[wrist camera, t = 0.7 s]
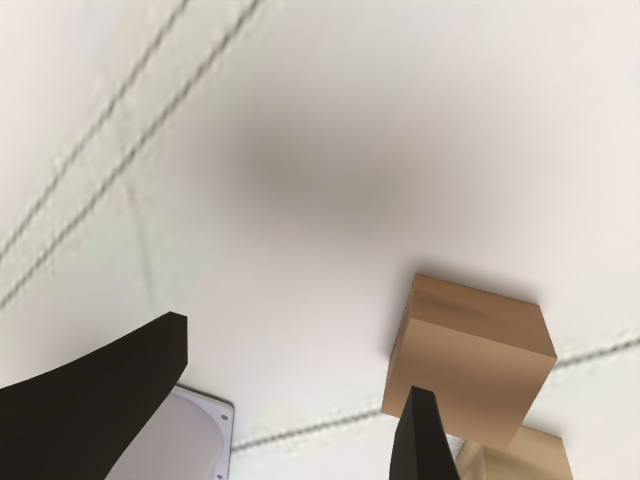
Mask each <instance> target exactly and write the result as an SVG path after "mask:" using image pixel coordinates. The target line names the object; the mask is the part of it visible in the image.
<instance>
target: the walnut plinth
mask: <svg viewBox="0 0 640 480" xmlns="http://www.w3.org/2000/svg"><path fill="white" fill-rule="evenodd" d="M556 361H557V356H556V353H555V350H554V347H553V344H552V341H551V339H550V336H549V333H548V330H547V327H546V324H545V321H544V318H543V316H542V313H541V310H540V307H539V306H538V305H534V304H530V303H527V302H523V301H519V300H515V299H511V298H508V297H504V296H500V295H496V294H492V293H489V292H485V291H481V290H477V289H473V288H470V287H466V286H462V285H458V284H454V283H451V282H447V281H443V280H439V279H435V278H432V277H428V276H424V275H420V274H416V275H415V278H414V282H413V285H412V288H411V292H410V295H409V298H408V301H407V305H406V308H405V311H404V314H403V318H402V321H401V324H400V328H399V331H398V334H397V337H396V341H395V344H394V347H393V350H392V354H391V357H390V360H389V366H388V372H387V378H386V384H385V390H384V396H383V402H382V408H381V412H382V413H385V414H388V415H391V416H394V417H398V418H401V415H402V412H403V409H404V406H405V403H406V400H407V398H408V395H409V392H410V389H411V386H412V385H413V386H416V387H419V388H423V389H426V390H429V391H432V392H433V393H434V394H435V396H436V401H437V405H438V410H439V414H440V418H441V421H442V425H443V428H444V432H445V433H447V434H451V435H454V436H457V437H460V438H463V439H466V440H469V441H472V442H476V443H479V444H482V445H485V446H488V447H491V448H494V449H497V450H500V451H504V452H505V451H506V449H507V448H508V446H509V444H510V442H511V441H512V439H513V437H514V435H515V433H516V432H517V430H518V428H519V426H520V425H521V423H522V421H523V419H524V417H525V416H526V414H527V412H528V410H529V409H530V407H531V405H532V403H533V402H534V400H535V398H536V396H537V394H538V393H539V391H540V389H541V387H542V386H543V384H544V382H545V380H546V379H547V377H548V375H549V373H550V371H551V370H552V368H553V366H554V364H555V363H556Z"/></svg>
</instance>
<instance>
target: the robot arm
mask: <svg viewBox="0 0 640 480" xmlns="http://www.w3.org/2000/svg"><path fill="white" fill-rule="evenodd" d="M187 364H188V345H187V316H184V315H180V314H177V313H174V312H171V311H170V312H168V313H166V314H164V315H162V316H160V317H158V318H157V319H155V320H153V321H151V322H149V323H147V324H146V325H144V326H142V327H140V328H138V329H136V330H135V331H133V332H131V333H129V334H127V335H125V336H123V337H121V338H119V339H117V340H116V341H114V342H112V343H110V344H108V345H106V346H104V347H102V348H100V349H98V350H95V351H93V352H91V353H89V354H87V355H85V356H83V357H81V358H79V359H77V360H74V361H72V362H70V363H68V364H66V365H63V366H61V367H58V368H56V369H54V370H51V371H49V372H46V373H44V374H41V375H38V376H36V377H33V378H31V379H28V380H25V381H22V382H19V383H16V384H13V385H10V386H7V387H4V388H1V389H0V480H227V479H228V468H229V457H230V446H231V435H232V424H233V413H234V410H233V408H232V406H230V405H229V404H226V403H223V402H221V401H218V400H215V399H212V398H209V397H206V396H204V395H201V394H198V393H195V392H192V391H189V390H186V389H184V388H181V387H178V386H175V384H176V383H177V381H178V380H179V378H180V376H181V374H182V373H183V371H184V369H185V368H186V366H187ZM389 480H461V479H460V476H459V474H458V471H457V468H456V465H455V462H454V459H453V457H452V454H451V451H450V448H449V445H448V442H447V438H446V435H445V432H444V428H443V425H442V421H441V418H440V414H439V410H438V405H437V401H436V396H435V394H434V393H433V392H432V391H429V390H426V389H423V388H419V387H416V386H413V385H412V386H411V389H410V392H409V395H408V398H407V400H406V403H405V406H404V409H403V412H402V415H401V418H400V420H399V423H398V426H397V429H396V432H395V438H394V444H393V450H392V456H391V463H390V472H389Z"/></svg>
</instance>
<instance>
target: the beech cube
mask: <svg viewBox="0 0 640 480" xmlns="http://www.w3.org/2000/svg"><path fill="white" fill-rule="evenodd" d="M455 465H456V468H457V471H458V474H459V476H460V479H461V480H573V477H572V473H571V470H570V466H569V463H568V459H567V456H566V452H565V449H564V445H563V442H562V438H559V437H556V436H553V435H550V434H546V433H543V432H540V431H537V430H534V429H531V428H528V427H525V426H522V425H520V426H519V428H518V430H517V432H516V433H515V435H514V437H513V439H512V441H511V442H510V444H509V446H508V448H507V449H506V451H505V452H504V451H500V450H497V449H494V448H491V447H488V446H485V445H482V444H479V443H476V442H472V441H469V440H465V442H464V444H463V446H462V448H461V450H460V452H459V454H458V456H457V457H456V459H455Z"/></svg>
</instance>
